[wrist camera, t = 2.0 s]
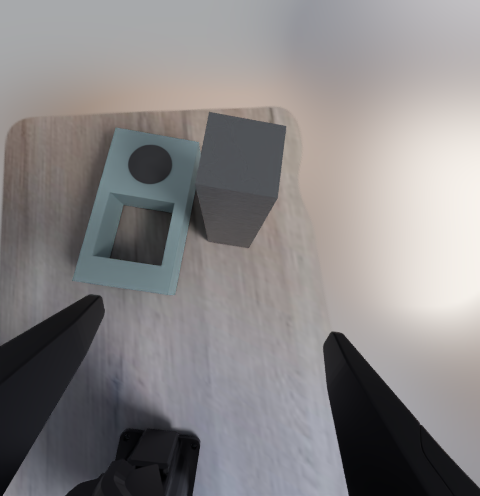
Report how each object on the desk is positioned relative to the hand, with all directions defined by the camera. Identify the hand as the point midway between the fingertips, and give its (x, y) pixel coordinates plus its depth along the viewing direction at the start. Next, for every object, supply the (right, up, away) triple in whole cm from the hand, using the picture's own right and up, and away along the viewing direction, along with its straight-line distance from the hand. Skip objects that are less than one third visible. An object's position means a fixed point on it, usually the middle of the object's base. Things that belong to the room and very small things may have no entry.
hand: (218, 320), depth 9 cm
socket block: (-8, +6, +14) cm, 17 cm away
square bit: (0, +5, +15) cm, 16 cm away
